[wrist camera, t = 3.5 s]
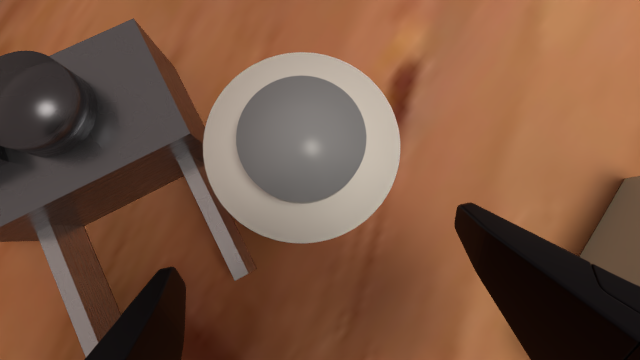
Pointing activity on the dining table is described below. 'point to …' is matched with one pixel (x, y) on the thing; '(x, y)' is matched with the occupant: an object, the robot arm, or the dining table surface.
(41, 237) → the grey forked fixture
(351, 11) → the dining table surface
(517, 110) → the dining table surface
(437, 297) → the dining table surface
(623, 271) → the rectangular open frame
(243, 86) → the white capped bottle
